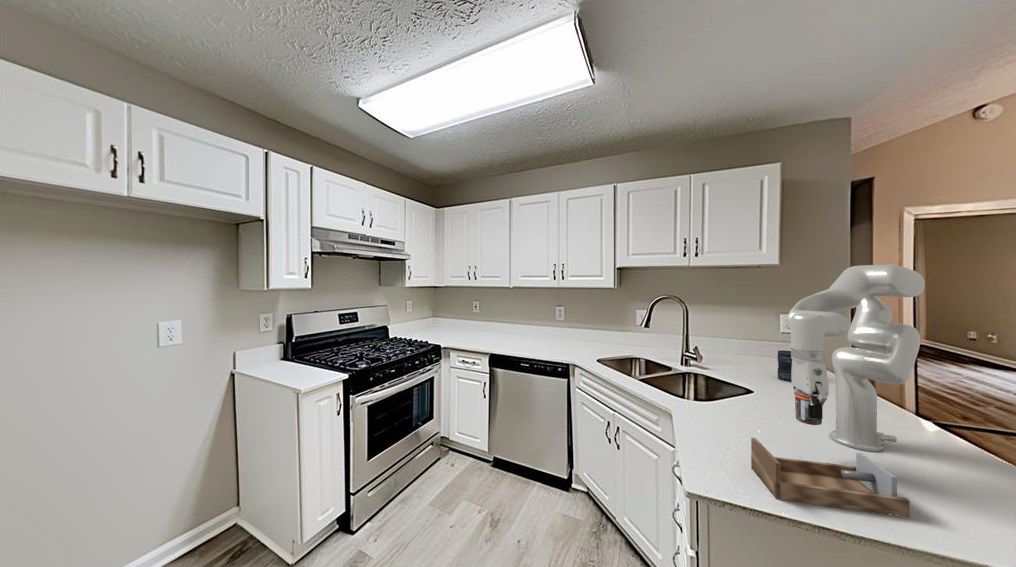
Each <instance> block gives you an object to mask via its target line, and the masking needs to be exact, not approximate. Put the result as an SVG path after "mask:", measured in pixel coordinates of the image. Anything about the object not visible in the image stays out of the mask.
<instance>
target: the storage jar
mask: <svg viewBox="0 0 1016 567" xmlns="http://www.w3.org/2000/svg"><path fill="white" fill-rule="evenodd" d="M776 357H777V379H778V380H779V381H782V382H787V383H792V379H791V370H792V358H791V350H784V349H783V350H777V356H776Z"/></svg>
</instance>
